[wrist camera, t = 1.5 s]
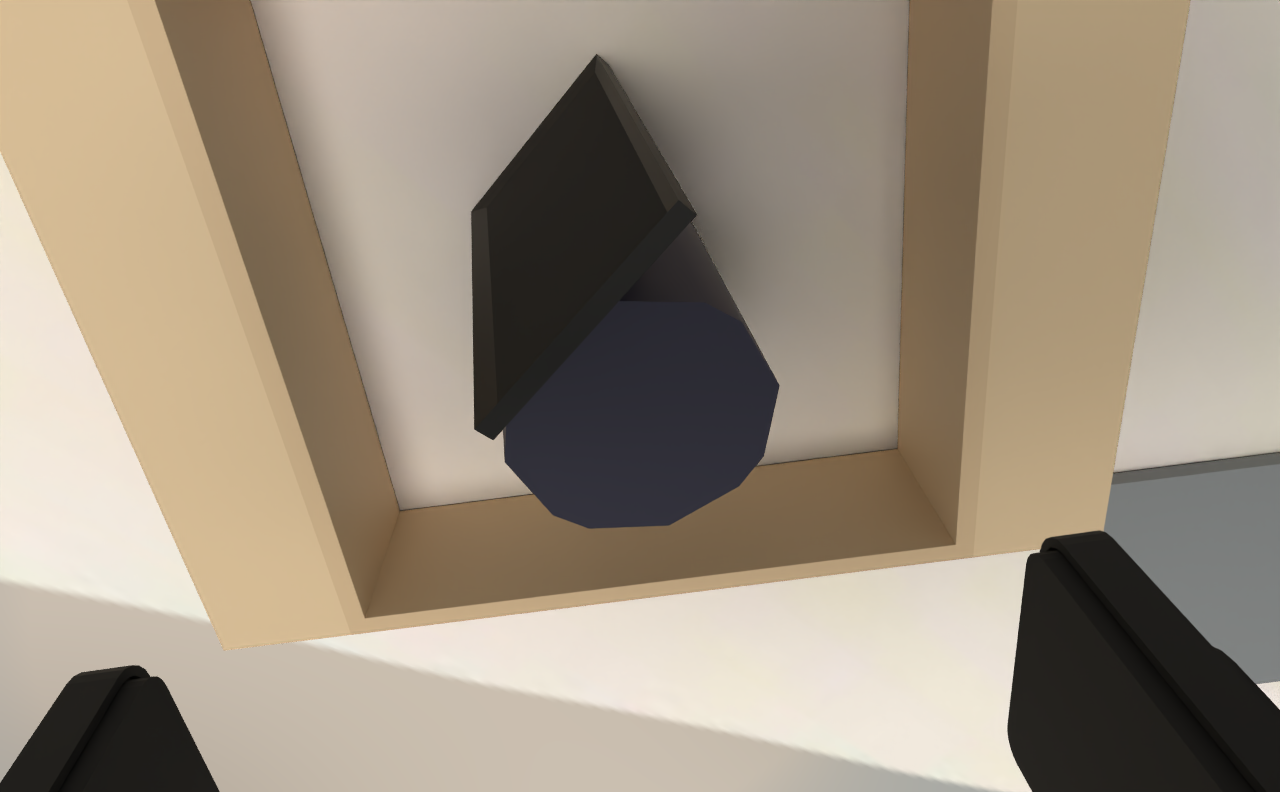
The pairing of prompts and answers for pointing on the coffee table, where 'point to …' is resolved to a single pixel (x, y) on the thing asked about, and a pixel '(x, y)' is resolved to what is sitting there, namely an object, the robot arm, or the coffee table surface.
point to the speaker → (609, 326)
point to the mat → (1210, 549)
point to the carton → (522, 526)
